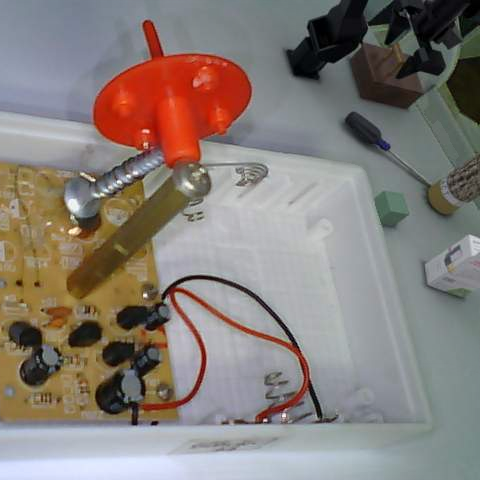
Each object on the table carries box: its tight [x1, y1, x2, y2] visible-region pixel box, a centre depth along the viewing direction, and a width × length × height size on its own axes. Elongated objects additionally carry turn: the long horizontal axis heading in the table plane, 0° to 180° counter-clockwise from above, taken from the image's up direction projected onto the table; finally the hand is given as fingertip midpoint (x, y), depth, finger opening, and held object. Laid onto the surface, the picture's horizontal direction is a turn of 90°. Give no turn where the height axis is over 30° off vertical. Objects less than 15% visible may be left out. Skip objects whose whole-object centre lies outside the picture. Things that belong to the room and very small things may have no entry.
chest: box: [349, 46, 423, 110], centre depth 168 cm, size 13×11×5 cm
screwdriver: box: [344, 110, 434, 188], centre depth 158 cm, size 26×4×4 cm, turn 65°
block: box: [373, 189, 410, 227], centre depth 148 cm, size 5×5×5 cm
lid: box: [360, 41, 425, 96], centre depth 164 cm, size 13×11×5 cm
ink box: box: [424, 234, 480, 298], centre depth 142 cm, size 9×5×15 cm, turn 84°
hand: (391, 61), depth 164 cm, fingers open, 9 cm apart
